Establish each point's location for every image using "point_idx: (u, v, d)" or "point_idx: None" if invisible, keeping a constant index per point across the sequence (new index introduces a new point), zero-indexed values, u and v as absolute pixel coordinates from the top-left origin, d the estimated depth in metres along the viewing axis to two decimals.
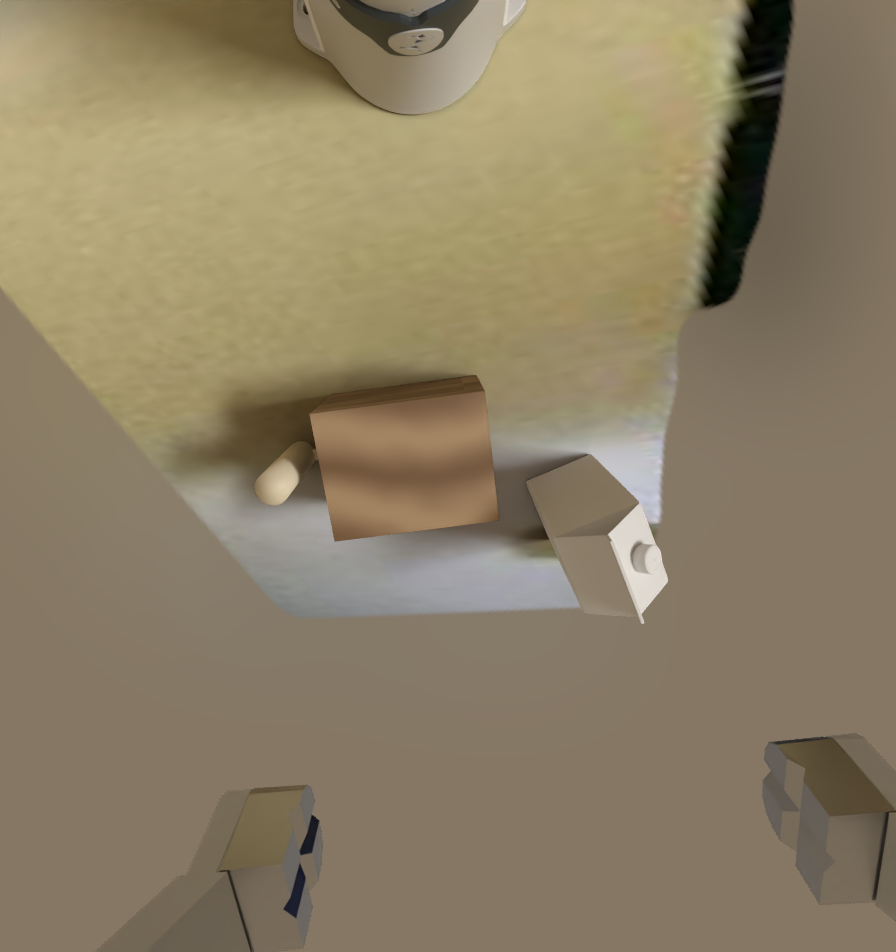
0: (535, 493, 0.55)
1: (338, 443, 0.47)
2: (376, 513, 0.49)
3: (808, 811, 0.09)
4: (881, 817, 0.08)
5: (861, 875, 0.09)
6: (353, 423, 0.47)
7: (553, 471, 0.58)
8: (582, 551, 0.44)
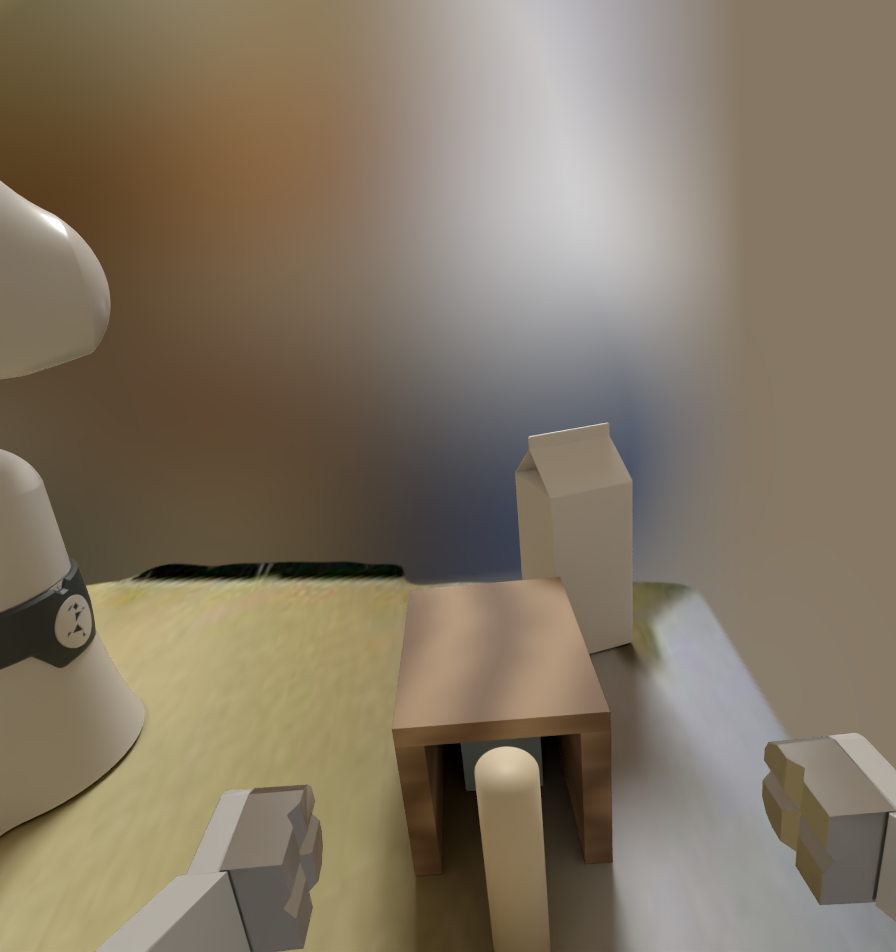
0: None
1: (443, 700, 0.31)
2: (556, 666, 0.33)
3: (808, 811, 0.09)
4: (881, 817, 0.08)
5: (861, 875, 0.09)
6: (418, 684, 0.33)
7: None
8: (555, 472, 0.46)
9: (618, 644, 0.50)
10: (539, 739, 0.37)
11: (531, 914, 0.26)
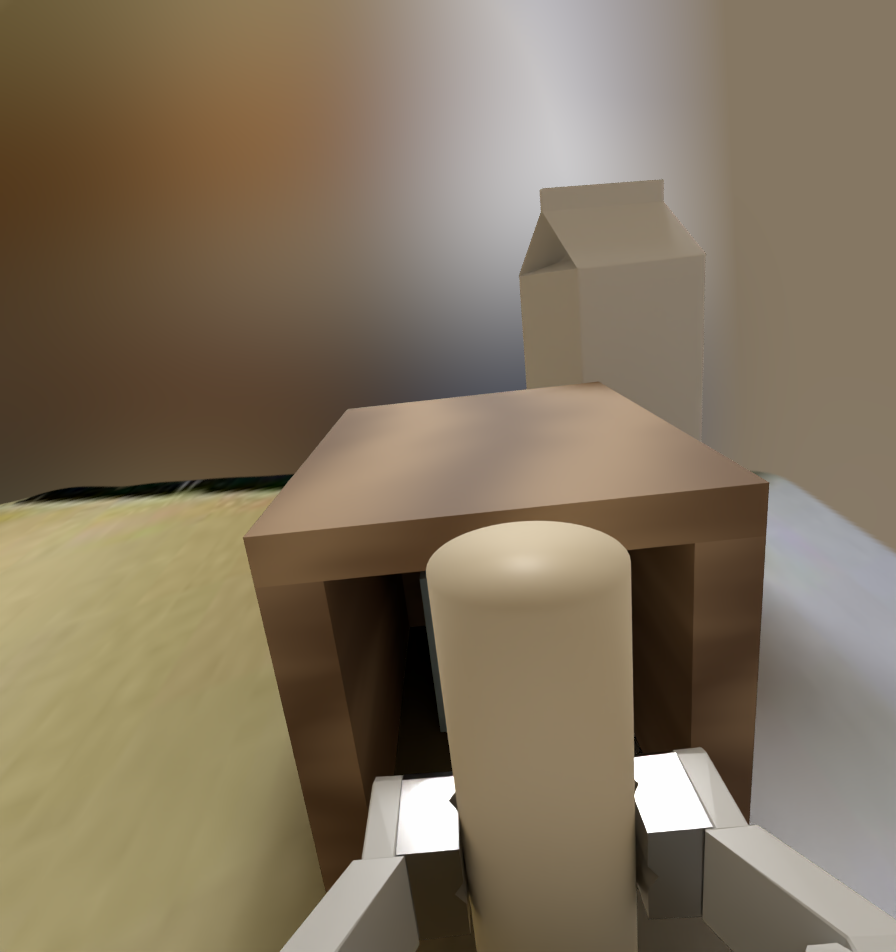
0: None
1: (376, 495, 0.14)
2: (617, 445, 0.16)
3: (637, 826, 0.09)
4: (699, 833, 0.09)
5: (686, 890, 0.09)
6: (329, 482, 0.16)
7: None
8: (584, 238, 0.29)
9: None
10: None
11: None
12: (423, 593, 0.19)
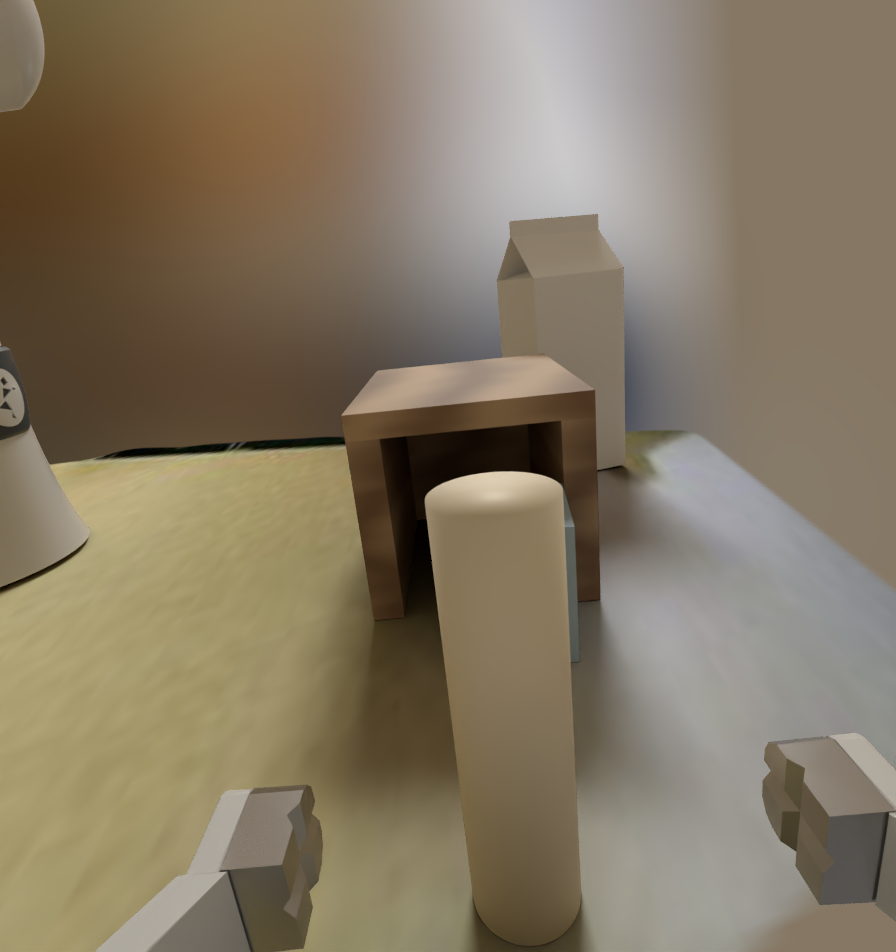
0: None
1: (404, 401, 0.27)
2: (535, 380, 0.29)
3: (808, 811, 0.09)
4: (881, 817, 0.08)
5: (861, 875, 0.09)
6: (377, 398, 0.29)
7: None
8: (539, 256, 0.42)
9: (610, 465, 0.46)
10: (574, 581, 0.23)
11: (541, 810, 0.13)
12: None
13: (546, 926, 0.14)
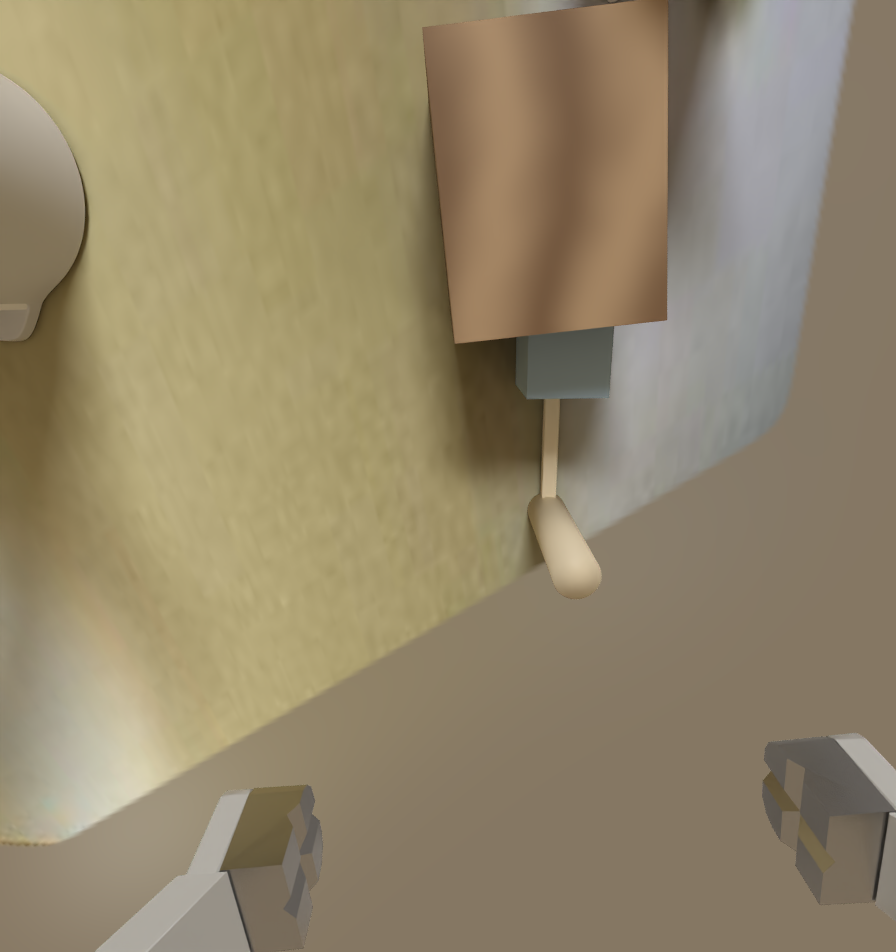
0: None
1: (502, 301, 0.30)
2: (626, 244, 0.29)
3: (808, 811, 0.09)
4: (881, 817, 0.08)
5: (861, 875, 0.09)
6: (471, 274, 0.30)
7: None
8: None
9: None
10: None
11: None
12: None
13: None
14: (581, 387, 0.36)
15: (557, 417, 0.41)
